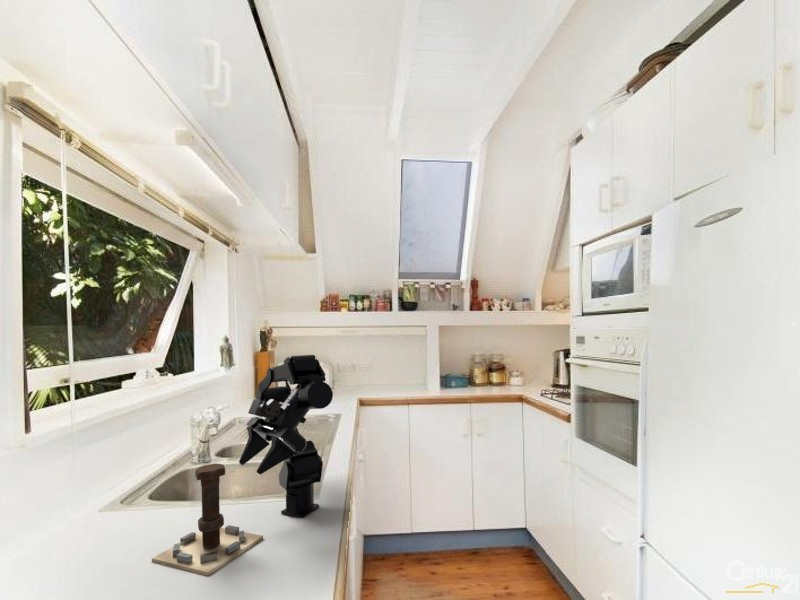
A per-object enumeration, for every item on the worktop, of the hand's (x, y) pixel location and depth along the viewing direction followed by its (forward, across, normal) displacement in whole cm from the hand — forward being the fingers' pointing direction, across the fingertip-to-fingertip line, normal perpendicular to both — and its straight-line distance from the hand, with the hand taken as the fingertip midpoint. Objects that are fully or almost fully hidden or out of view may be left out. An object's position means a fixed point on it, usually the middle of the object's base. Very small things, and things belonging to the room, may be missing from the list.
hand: (249, 468), depth 90 cm
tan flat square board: (+15, 0, +4) cm, 16 cm away
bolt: (+15, 0, +4) cm, 15 cm away
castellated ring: (+15, 0, +4) cm, 16 cm away
